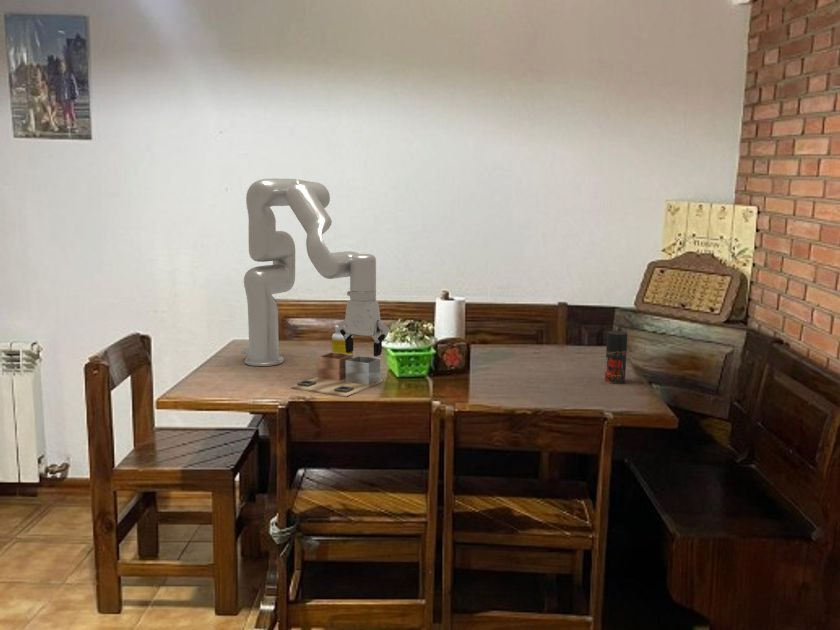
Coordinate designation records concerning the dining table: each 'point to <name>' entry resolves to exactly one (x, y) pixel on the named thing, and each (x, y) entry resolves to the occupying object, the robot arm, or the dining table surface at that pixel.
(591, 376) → the dining table surface
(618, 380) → the deodorant
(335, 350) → the supplement bottle
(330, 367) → the stand
